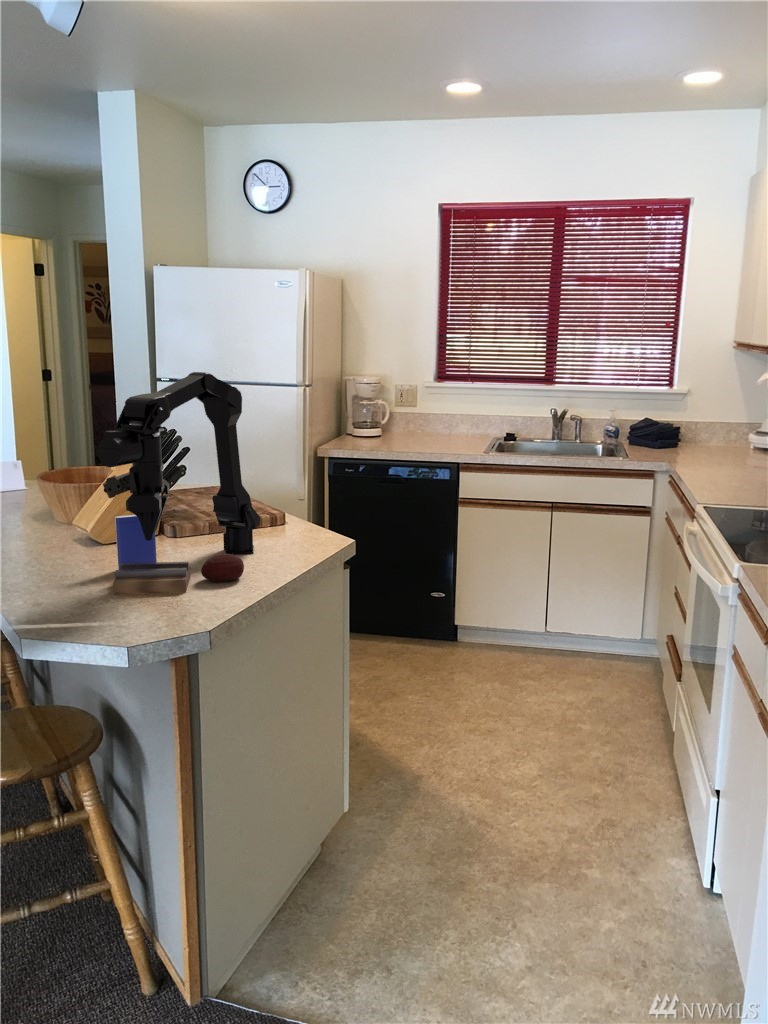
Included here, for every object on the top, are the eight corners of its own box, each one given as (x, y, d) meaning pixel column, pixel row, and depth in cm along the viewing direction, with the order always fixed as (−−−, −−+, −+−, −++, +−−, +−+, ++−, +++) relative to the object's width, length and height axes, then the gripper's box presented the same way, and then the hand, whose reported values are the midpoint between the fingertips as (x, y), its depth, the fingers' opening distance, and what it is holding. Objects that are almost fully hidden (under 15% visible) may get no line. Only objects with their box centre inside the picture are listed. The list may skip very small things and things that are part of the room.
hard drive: (157, 568, 178) (154, 514, 175) (119, 573, 174) (115, 518, 171) (155, 567, 179) (153, 513, 176) (118, 571, 175) (114, 516, 173)
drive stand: (190, 578, 171) (189, 558, 170) (186, 593, 161) (185, 572, 160) (122, 581, 168) (121, 560, 167) (114, 596, 159) (112, 574, 158)
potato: (245, 585, 167) (244, 558, 165) (201, 588, 165) (200, 560, 164) (243, 575, 174) (243, 548, 173) (201, 577, 172) (200, 550, 171)
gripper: (113, 453, 167) (117, 525, 170) (95, 468, 149) (101, 549, 152) (168, 453, 168) (171, 524, 172) (157, 467, 150) (161, 547, 154)
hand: (151, 535), depth 162 cm, fingers open, 7 cm apart
